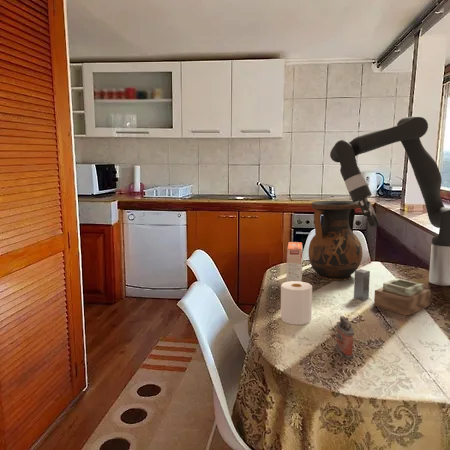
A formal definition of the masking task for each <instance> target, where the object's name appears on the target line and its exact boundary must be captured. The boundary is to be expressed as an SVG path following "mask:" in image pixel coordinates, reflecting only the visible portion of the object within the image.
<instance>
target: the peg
mask: <svg viewBox="0 0 450 450" xmlns="http://www.w3.org/2000/svg"><path fill="white" fill-rule="evenodd" d="M370 274H371V271H370V270H366V269H361V268H360V269H357V270H356V271H355V272H354V282H353V283H354V284H353V285H354V287H353V299H356V300H360V301H366V300H368V299H370V298H369V297H370V277H371V276H370Z"/></svg>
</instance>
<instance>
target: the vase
mask: <svg viewBox="0 0 450 450" xmlns="http://www.w3.org/2000/svg"><path fill="white" fill-rule="evenodd" d="M311 209H312V210H315V211H314V213H313V221H314V224H313V225H314V232H315V233H314V235H313V236H312V238H311V240H310V242H309V245H308V251H307V252H308V260H309V262H310V265H311V267H312V269H313V270H314V271H315V272H316V273H317V276H318V277H319V278H321V279H323V280H327V281H337V282H339V281H348V280H351V278H352V274H355V271H356V270H358V268H359V267H360V265H361V263H362V259H363V247H362V243H361V241H360V239H359V238H358V236H357V235H356V234H355V232H354V225H355V224H354V222H355V215H356V210H355V209H361V208H360V206H359V204H358V202H356V203H354V202H353V201H352V200H349V199H347V200H344V199H341V200H339V199H337V200H336V199H335V200H334V199H332V200H331V199H330V200H317V201H313V202H312V203H311ZM321 215H323V221H322V222H321Z"/></svg>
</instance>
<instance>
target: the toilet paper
mask: <svg viewBox="0 0 450 450" xmlns="http://www.w3.org/2000/svg"><path fill="white" fill-rule="evenodd" d="M312 308H313V285H312V284H311V283H309V282H305V281H290V282H286V281H284V282H282V284H281V285H280V319H281V320H282V322H283V323H285V324H289V325H297V326H299V325H301V326H302V325H306V324H307V325H308V324H310V322H311V321H312V318H313V317H312V314H313V313H312V312H313V311H312Z"/></svg>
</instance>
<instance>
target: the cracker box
mask: <svg viewBox="0 0 450 450" xmlns="http://www.w3.org/2000/svg"><path fill="white" fill-rule="evenodd" d="M286 250H287V251H286V281H285V282H290V281H301V282H303V281H302V275H303V242H298V241H288V244H287V249H286Z"/></svg>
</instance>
